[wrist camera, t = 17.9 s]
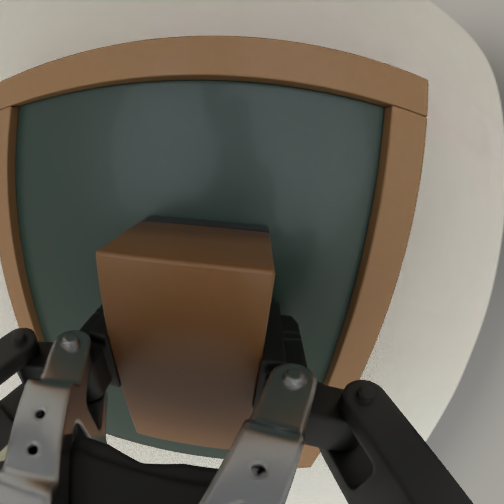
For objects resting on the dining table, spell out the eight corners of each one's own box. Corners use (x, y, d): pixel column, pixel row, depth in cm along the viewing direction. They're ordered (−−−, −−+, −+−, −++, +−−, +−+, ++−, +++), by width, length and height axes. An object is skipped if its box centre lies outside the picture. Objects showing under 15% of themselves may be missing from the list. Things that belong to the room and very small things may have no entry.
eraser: (148, 215, 10) (93, 251, 6) (269, 225, 10) (276, 271, 6) (159, 372, 13) (136, 433, 9) (247, 384, 13) (245, 451, 9)
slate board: (20, 84, 9) (-2, 82, 7) (407, 87, 9) (428, 79, 7) (73, 409, 17) (65, 424, 15) (308, 449, 17) (310, 467, 15)
